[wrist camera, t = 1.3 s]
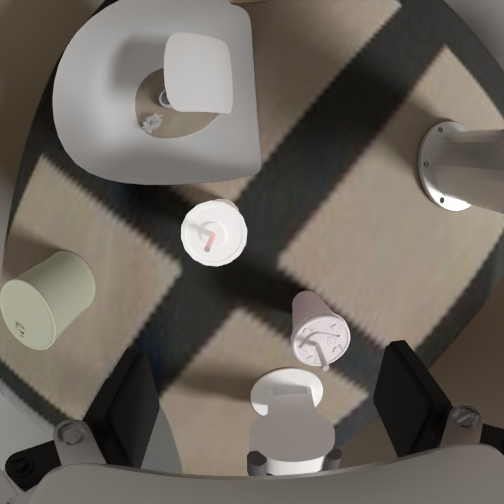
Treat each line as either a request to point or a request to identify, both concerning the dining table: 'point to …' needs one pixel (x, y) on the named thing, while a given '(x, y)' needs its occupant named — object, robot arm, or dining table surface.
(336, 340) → the smoothie
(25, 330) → the can
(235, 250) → the beverage cup
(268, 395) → the panda figurine
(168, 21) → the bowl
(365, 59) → the dining table surface
